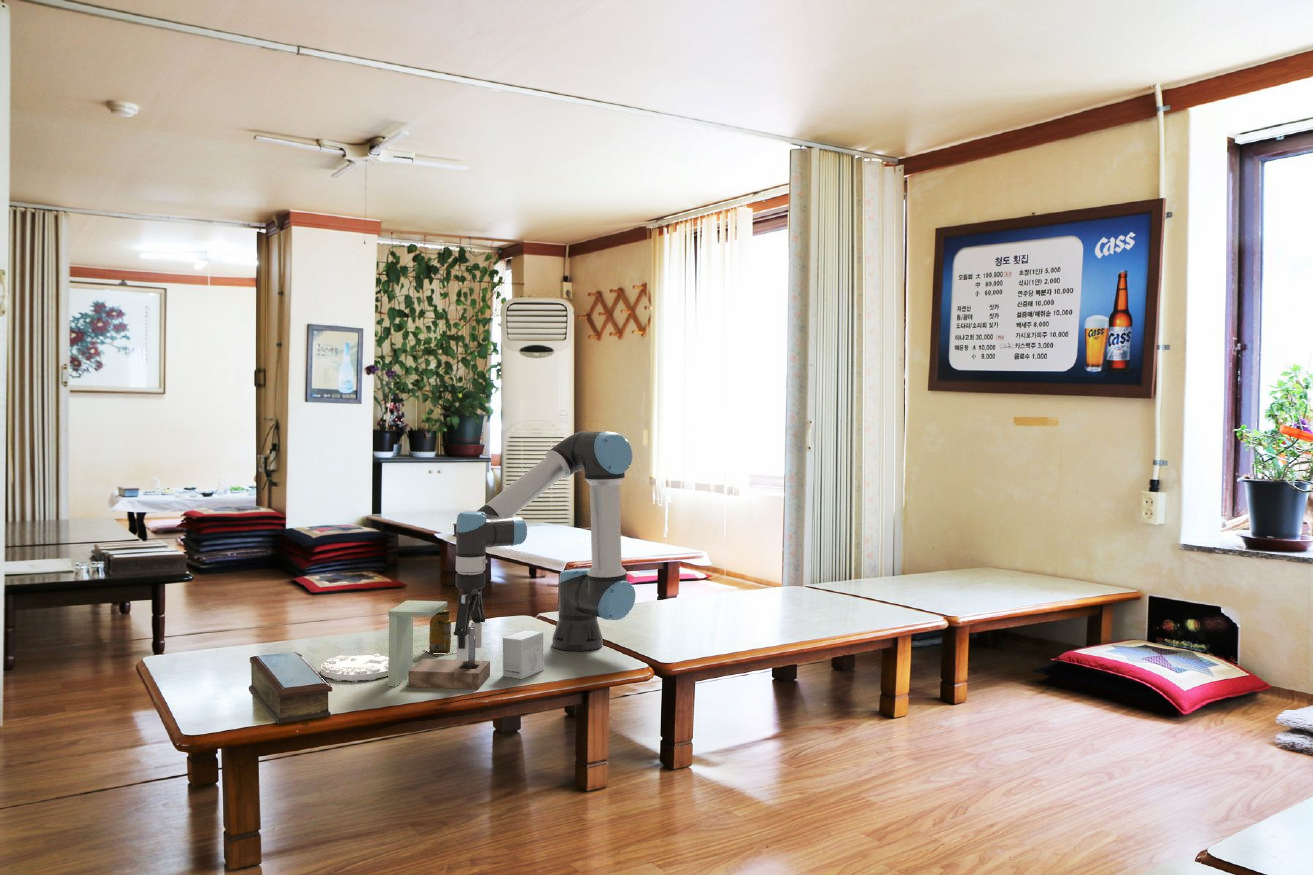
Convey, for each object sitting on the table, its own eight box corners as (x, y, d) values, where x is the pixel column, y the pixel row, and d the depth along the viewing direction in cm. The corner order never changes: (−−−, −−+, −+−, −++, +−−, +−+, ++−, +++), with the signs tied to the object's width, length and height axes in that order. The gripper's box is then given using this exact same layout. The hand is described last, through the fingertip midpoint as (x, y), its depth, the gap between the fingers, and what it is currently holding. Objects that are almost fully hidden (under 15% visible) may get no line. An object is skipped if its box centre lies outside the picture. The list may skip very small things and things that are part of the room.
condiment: (445, 647, 278) (446, 606, 277) (459, 653, 271) (459, 611, 271) (422, 650, 273) (423, 609, 273) (435, 656, 267) (436, 614, 266)
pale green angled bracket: (446, 673, 250) (447, 601, 249) (430, 688, 236) (431, 612, 235) (405, 671, 250) (406, 600, 250) (387, 686, 236) (388, 611, 236)
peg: (464, 679, 244) (464, 626, 244) (476, 680, 244) (477, 626, 243) (460, 683, 241) (461, 629, 240) (473, 683, 240) (473, 629, 240)
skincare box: (524, 667, 258) (525, 629, 257) (544, 670, 255) (544, 631, 254) (501, 676, 248) (501, 636, 248) (521, 679, 245) (521, 639, 245)
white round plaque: (414, 670, 253) (414, 660, 253) (357, 687, 237) (357, 676, 236) (362, 659, 264) (362, 649, 264) (304, 674, 247) (304, 663, 247)
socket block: (489, 675, 248) (490, 660, 248) (478, 689, 236) (478, 673, 236) (423, 673, 249) (423, 658, 249) (408, 686, 237) (408, 670, 237)
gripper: (472, 580, 229) (471, 667, 229) (496, 564, 254) (495, 642, 254) (442, 579, 229) (441, 666, 230) (468, 563, 254) (467, 641, 255)
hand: (469, 654), depth 242 cm, fingers open, 13 cm apart
